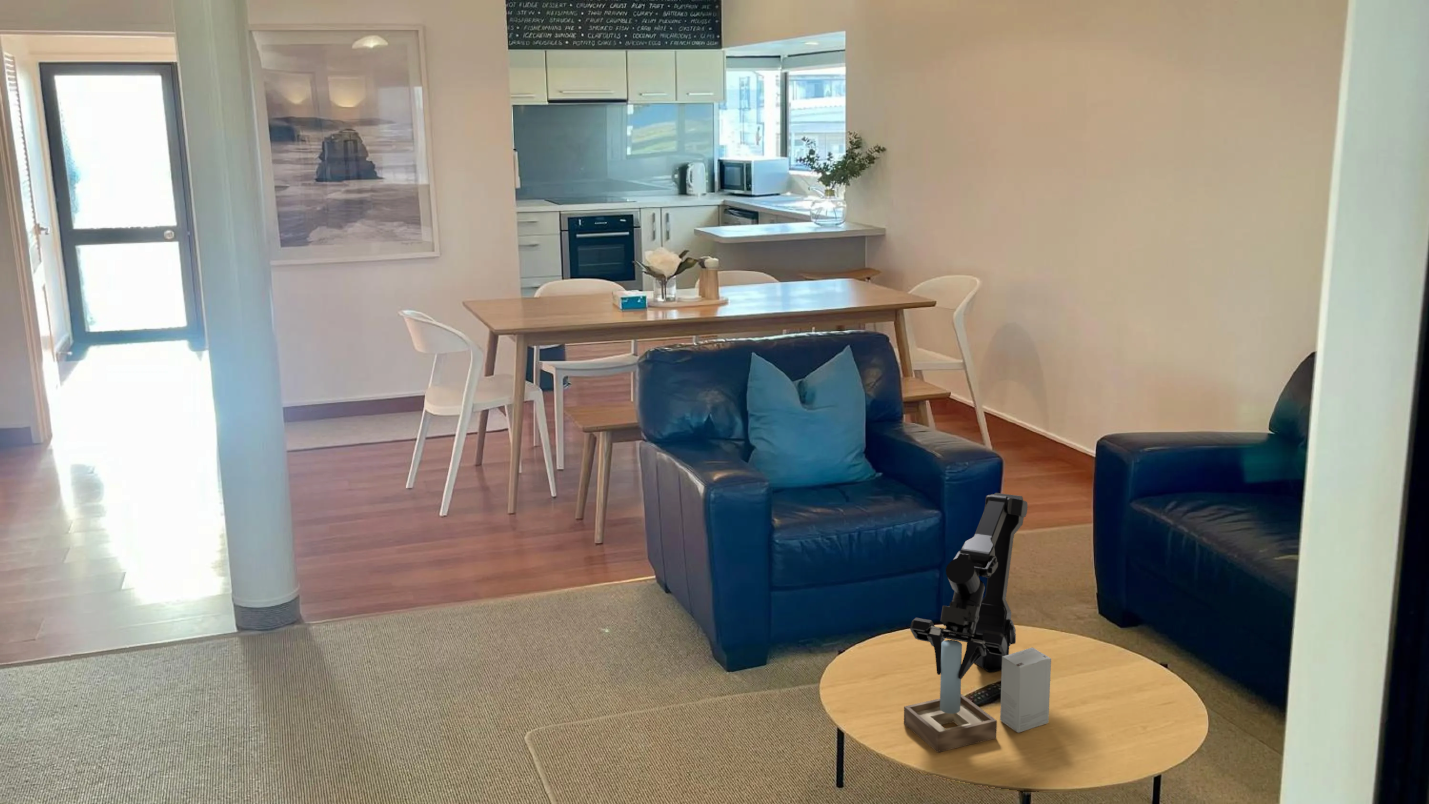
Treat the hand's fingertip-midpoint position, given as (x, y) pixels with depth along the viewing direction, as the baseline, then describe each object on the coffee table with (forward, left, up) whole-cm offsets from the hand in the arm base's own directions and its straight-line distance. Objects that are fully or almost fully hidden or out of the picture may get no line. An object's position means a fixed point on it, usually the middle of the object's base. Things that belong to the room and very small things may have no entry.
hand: (948, 676), depth 233 cm
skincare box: (-16, +3, -13) cm, 21 cm away
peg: (-1, -1, -8) cm, 8 cm away
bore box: (-1, -1, -12) cm, 13 cm away
